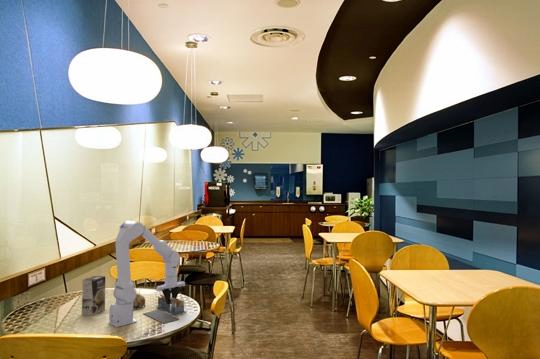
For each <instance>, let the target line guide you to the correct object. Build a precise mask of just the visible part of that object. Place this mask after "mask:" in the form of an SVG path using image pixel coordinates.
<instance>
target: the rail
mask: <svg viewBox="0 0 540 359" xmlns="http://www.w3.org/2000/svg"><path fill="white" fill-rule="evenodd" d="M159 296H161V297H163V301H164V302H166V300H165V297H164V294H163V293H162V294H160V295H159ZM182 300H183V299H181V300H180V299H178V297H177V298H174V297H172V295H171V296H170V305H171V302H172V301H174V302H176V306H177V307H180V306H182Z"/></svg>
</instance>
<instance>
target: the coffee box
mask: <svg viewBox="0 0 540 359" xmlns="http://www.w3.org/2000/svg"><path fill="white" fill-rule="evenodd" d="M81 286H82V293H81V315H87V316H95V315H97V314H99V313H101V312H103V311H106V276H103V275H92V276H90V277H87V278H85V279H82V285H81Z"/></svg>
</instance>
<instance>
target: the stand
mask: <svg viewBox="0 0 540 359" xmlns="http://www.w3.org/2000/svg"><path fill="white" fill-rule="evenodd" d="M179 300H182V306H180V307H177V306H176V302H174V301H172V302H171V304H170V305H168V304H166V302H164V301H163V297H161V296H160V295H158V296H157V305H156V306H155V308H156V307H157V308H156V309H158V310H161V309H162V310H161V311H163V310H164V311H163V312H165V313H168V314H170V313H171V314H170V315H172V314H173V315H172V316H175V317H176V316H178V315H182V313H183V314H186V313H187V311H186V310H185V300H183V299H179Z"/></svg>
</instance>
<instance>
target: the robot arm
mask: <svg viewBox="0 0 540 359" xmlns="http://www.w3.org/2000/svg"><path fill="white" fill-rule="evenodd" d="M138 237H142V238H143V239H145V240H146V241H147V242H148V243H150V244H151V245H153V249H154V251H155V252H156V253H157V254H158V255H160V256H161V257H162V260H163V261H164V284H161V285H158V286H156V287H155V288H156V289H155V290H156V292H162V294H164V297H165V300H166V304H168V305H171V304H170V296H171V297H174V298H177V299H178V295H179V293H180V292H181V287H185V286H186V282H185V281H184V280H183V281H178V265H179V261H180V258H181V255H180V254H179V252H178V251H177V250H174V248H173V247H172V246H170V245H168V243H167V241H166V240H163V239H160V240H159V238H157V236H155V234H153V233H152V232H151V231H150V229H149V228H147V226H146V225H144V224H143V223H142V222H140V221H132V220H125V221H124V222H122V224H121V225H119V231H118V233H117V234H116V238H115V254H116V259H115V260H116V272H117V273H116V274H117V281H116V282H115V283H114V289H113V293H112V294H113V297H114V298H115V303H113V304H110V306H109V309H108V310H109V314H108V315H109V320H108V324H110V325H112V326H114V327H115V328H118V327H123V326H126V325H130V324H133V323H137V322H138V320H137V319H135V318H134V309H133V302H134V299H135V298H136V294H137V291H136V289H135V284H134V283H133V281H132V278H131V260H130V243H131V242H133V240H135V239H137V238H138Z"/></svg>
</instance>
